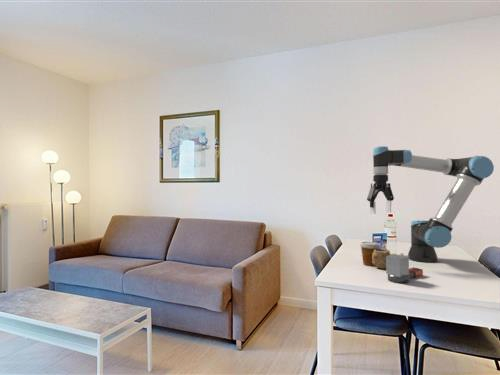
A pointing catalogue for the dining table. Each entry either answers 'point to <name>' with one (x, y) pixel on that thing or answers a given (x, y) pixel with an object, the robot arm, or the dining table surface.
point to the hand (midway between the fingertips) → (380, 212)
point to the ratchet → (405, 279)
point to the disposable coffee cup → (368, 252)
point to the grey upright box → (397, 265)
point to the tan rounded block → (380, 257)
